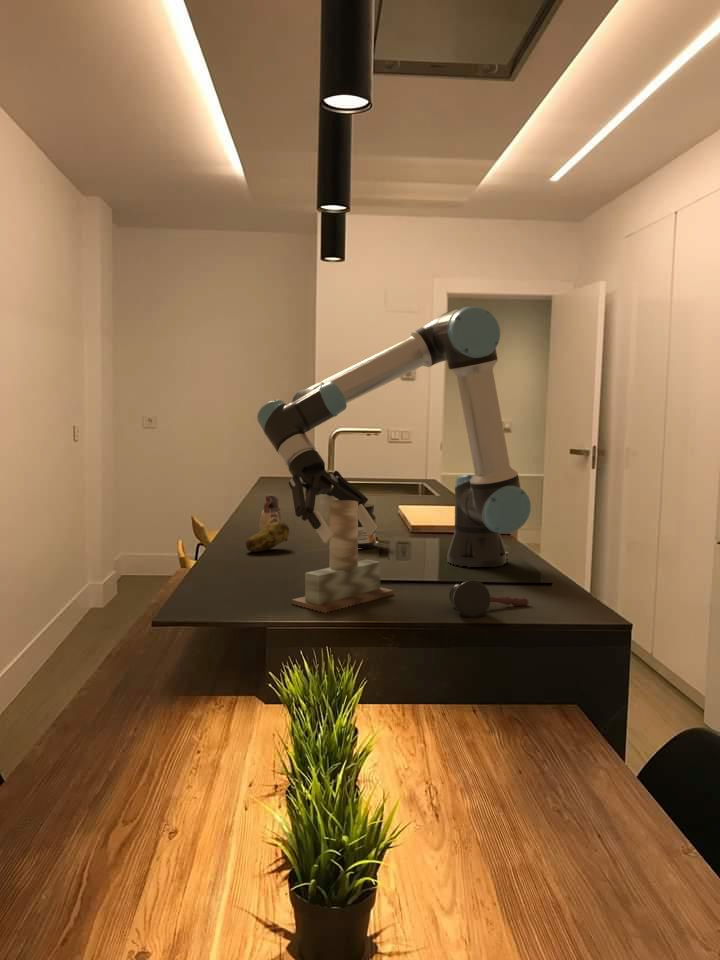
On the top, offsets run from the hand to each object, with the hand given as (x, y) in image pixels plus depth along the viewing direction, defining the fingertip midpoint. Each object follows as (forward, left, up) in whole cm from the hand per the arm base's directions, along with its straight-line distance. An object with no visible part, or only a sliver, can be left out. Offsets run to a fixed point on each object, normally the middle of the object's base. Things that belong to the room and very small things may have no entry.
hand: (351, 535), depth 176 cm
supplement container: (-20, -59, -14) cm, 64 cm away
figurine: (-1, -89, -14) cm, 90 cm away
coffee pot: (-25, +15, -15) cm, 33 cm away
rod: (+1, -2, -7) cm, 8 cm away
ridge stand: (+1, -2, -14) cm, 14 cm away
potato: (+6, -60, -14) cm, 62 cm away
